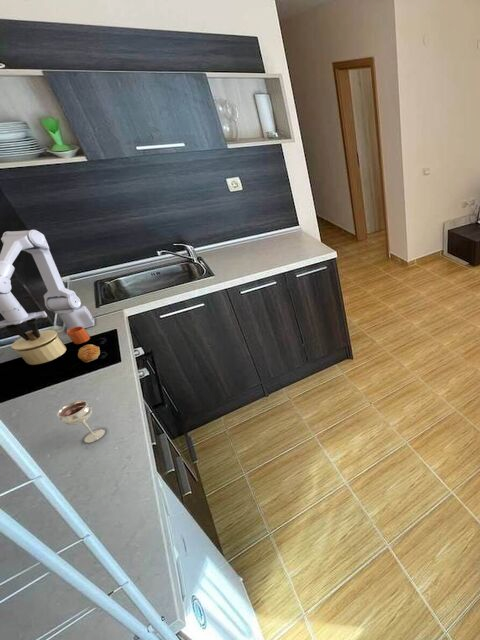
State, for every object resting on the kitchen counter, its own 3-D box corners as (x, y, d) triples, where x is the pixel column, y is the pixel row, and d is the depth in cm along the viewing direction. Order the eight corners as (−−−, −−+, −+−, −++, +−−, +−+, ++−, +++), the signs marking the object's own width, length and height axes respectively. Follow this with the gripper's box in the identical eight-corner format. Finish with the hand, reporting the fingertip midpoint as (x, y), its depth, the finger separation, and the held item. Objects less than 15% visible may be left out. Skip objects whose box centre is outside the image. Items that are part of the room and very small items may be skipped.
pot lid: (58, 328, 144) (52, 319, 142) (57, 342, 136) (50, 332, 134) (15, 340, 138) (7, 331, 135) (11, 355, 129) (3, 345, 127)
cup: (90, 335, 152) (83, 324, 149) (90, 340, 149) (83, 330, 146) (74, 339, 149) (66, 329, 146) (73, 345, 146) (66, 335, 143)
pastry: (103, 358, 138) (98, 351, 136) (81, 366, 135) (75, 358, 132) (100, 348, 144) (95, 341, 142) (79, 355, 140) (73, 348, 138)
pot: (66, 342, 148) (57, 330, 144) (66, 356, 140) (56, 343, 137) (27, 354, 141) (17, 341, 138) (24, 368, 134) (13, 355, 130)
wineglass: (93, 446, 103) (70, 419, 97) (74, 443, 104) (50, 416, 98) (114, 428, 109) (93, 401, 102) (96, 425, 110) (74, 398, 103)
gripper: (-21, 319, 122) (5, 350, 130) (36, 305, 130) (57, 335, 137) (-17, 311, 127) (8, 341, 134) (37, 299, 134) (58, 327, 142)
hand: (33, 338), depth 136 cm, fingers closed on pot lid, 2 cm apart
